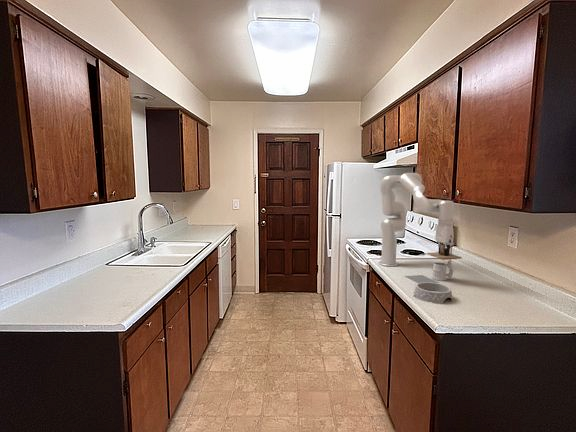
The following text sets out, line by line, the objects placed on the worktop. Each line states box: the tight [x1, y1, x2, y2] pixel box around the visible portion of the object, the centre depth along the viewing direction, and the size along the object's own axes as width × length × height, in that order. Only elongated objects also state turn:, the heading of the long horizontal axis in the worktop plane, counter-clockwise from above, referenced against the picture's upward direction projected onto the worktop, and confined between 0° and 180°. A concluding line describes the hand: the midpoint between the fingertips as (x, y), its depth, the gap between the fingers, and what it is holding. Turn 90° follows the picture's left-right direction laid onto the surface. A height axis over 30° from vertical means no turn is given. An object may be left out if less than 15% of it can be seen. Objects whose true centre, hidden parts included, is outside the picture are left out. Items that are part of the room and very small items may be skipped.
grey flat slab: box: [404, 274, 440, 284], centre depth 195 cm, size 16×12×1 cm
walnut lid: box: [426, 243, 462, 261], centre depth 194 cm, size 14×12×7 cm
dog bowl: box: [413, 282, 454, 304], centre depth 169 cm, size 17×18×5 cm
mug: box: [431, 259, 454, 282], centre depth 196 cm, size 8×12×12 cm, turn 94°
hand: (443, 254), depth 194 cm, fingers closed on walnut lid, 4 cm apart
